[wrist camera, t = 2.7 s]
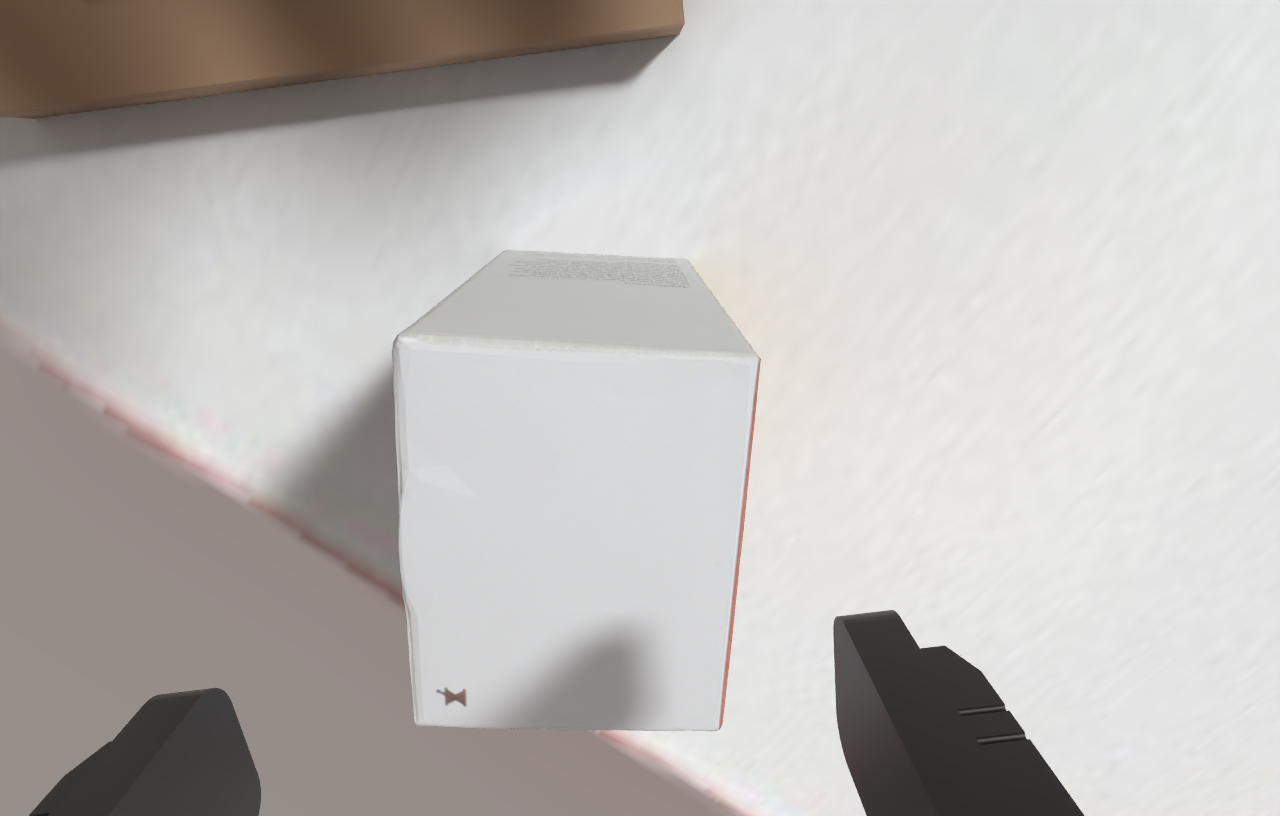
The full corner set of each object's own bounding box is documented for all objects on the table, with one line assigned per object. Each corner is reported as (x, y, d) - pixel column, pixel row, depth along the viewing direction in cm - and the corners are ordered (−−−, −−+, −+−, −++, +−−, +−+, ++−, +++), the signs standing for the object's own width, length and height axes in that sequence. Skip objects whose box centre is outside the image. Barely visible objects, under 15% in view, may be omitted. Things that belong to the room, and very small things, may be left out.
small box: (677, 475, 27) (724, 743, 15) (503, 469, 27) (404, 736, 14) (693, 252, 24) (768, 351, 12) (501, 243, 24) (377, 334, 12)
